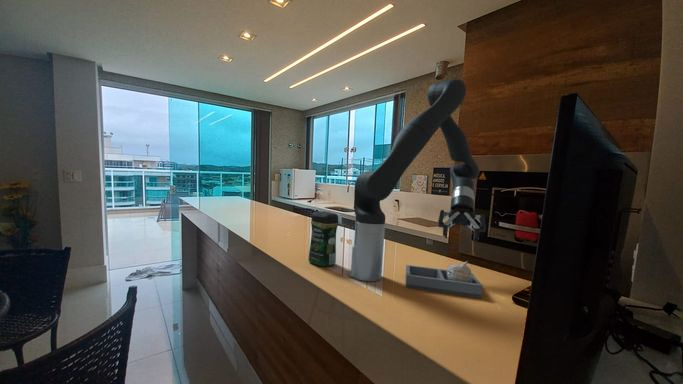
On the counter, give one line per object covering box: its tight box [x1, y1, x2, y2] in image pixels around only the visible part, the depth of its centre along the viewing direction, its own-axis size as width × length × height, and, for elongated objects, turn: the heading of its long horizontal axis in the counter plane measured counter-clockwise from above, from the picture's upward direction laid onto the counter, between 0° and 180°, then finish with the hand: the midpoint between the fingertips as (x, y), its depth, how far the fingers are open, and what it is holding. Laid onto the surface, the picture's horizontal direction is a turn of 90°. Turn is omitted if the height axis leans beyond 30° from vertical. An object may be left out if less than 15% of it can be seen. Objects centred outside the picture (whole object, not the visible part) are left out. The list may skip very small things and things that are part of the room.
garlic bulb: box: [446, 260, 472, 283], centre depth 78 cm, size 7×6×8 cm
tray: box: [405, 264, 483, 300], centre depth 79 cm, size 20×11×4 cm, turn 76°
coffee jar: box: [308, 210, 339, 268], centre depth 94 cm, size 10×8×19 cm
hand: (460, 238), depth 84 cm, fingers open, 8 cm apart
